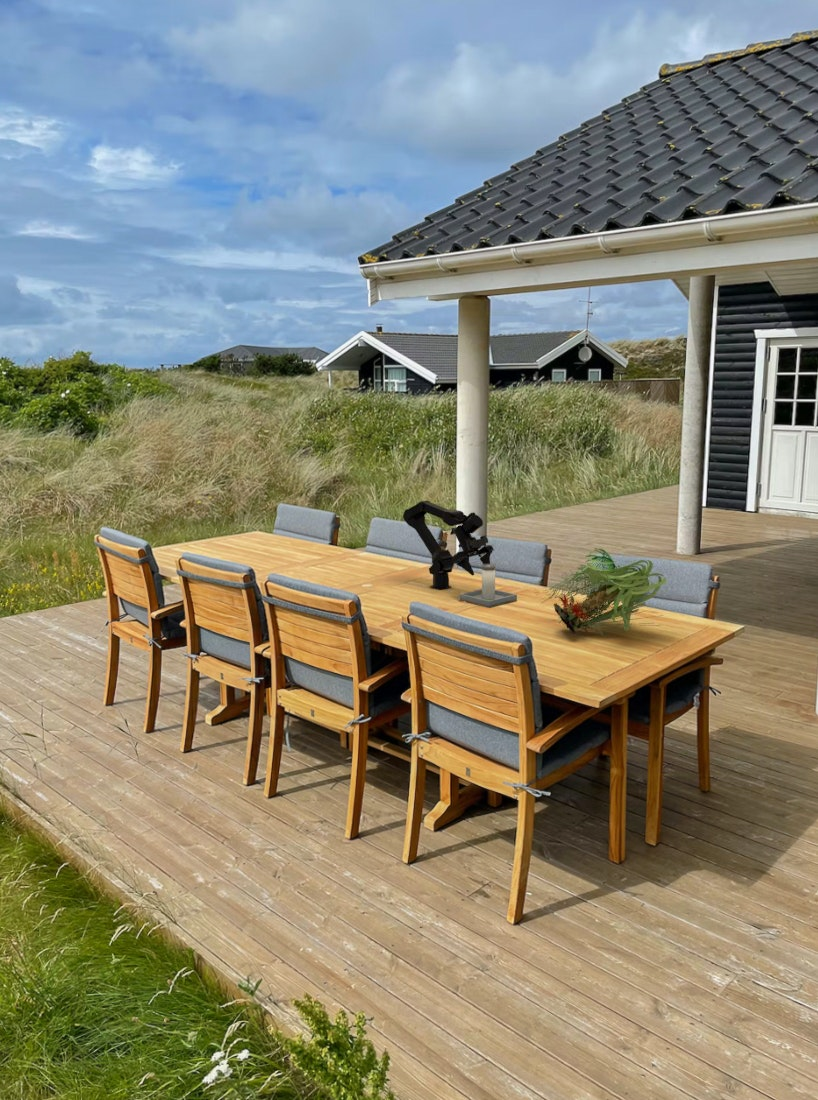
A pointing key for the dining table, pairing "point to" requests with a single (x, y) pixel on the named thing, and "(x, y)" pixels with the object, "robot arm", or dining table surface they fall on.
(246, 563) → the dining table surface
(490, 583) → the shaker
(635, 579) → the plant
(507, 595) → the tray
